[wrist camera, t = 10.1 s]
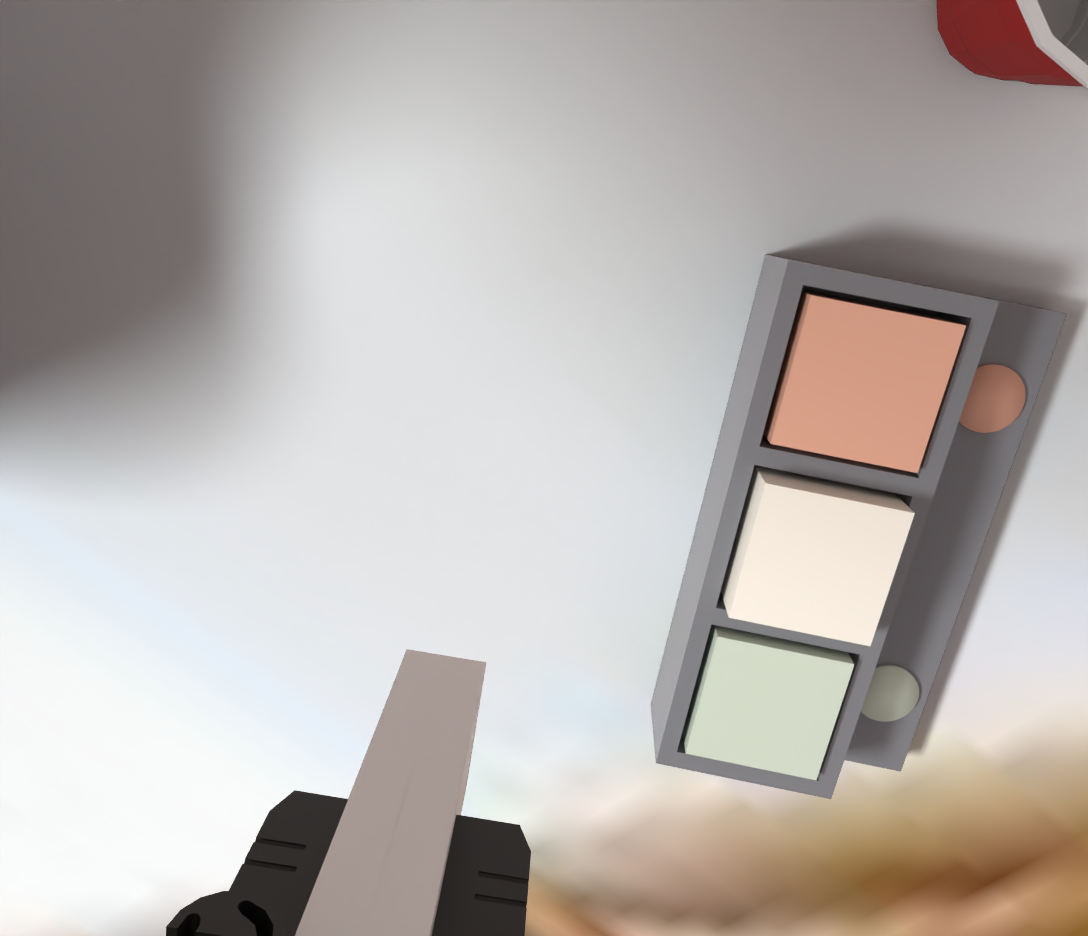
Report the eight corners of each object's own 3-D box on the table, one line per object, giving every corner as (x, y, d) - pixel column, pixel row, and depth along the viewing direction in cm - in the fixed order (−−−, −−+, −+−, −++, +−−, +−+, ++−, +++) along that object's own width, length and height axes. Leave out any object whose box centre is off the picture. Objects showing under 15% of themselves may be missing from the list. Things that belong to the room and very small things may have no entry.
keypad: (650, 704, 44) (655, 762, 40) (765, 254, 38) (788, 260, 33) (891, 753, 44) (925, 818, 40) (1049, 309, 38) (1113, 323, 33)
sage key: (680, 716, 42) (685, 753, 39) (709, 606, 40) (717, 636, 37) (801, 741, 42) (816, 780, 39) (836, 632, 40) (854, 664, 37)
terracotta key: (758, 426, 38) (770, 443, 35) (795, 288, 36) (811, 295, 33) (893, 453, 37) (917, 472, 35) (937, 316, 36) (966, 325, 33)
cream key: (719, 587, 39) (728, 617, 36) (753, 462, 37) (765, 483, 34) (851, 614, 39) (870, 646, 36) (891, 490, 37) (914, 513, 34)
